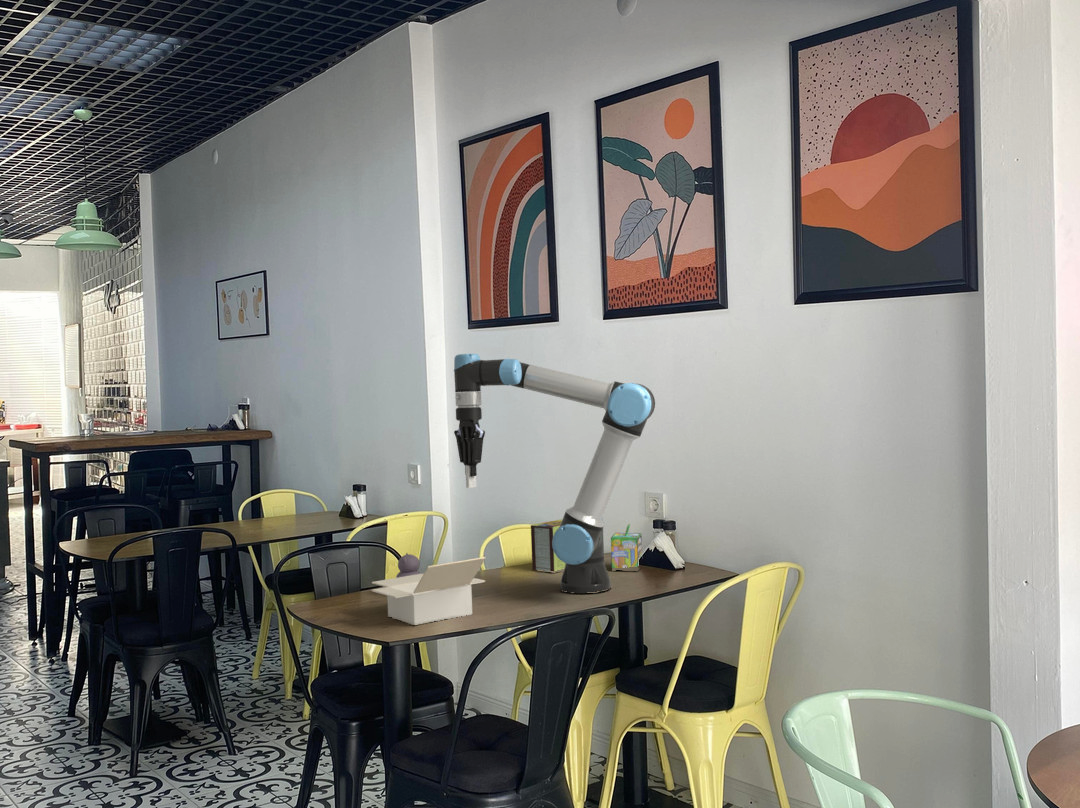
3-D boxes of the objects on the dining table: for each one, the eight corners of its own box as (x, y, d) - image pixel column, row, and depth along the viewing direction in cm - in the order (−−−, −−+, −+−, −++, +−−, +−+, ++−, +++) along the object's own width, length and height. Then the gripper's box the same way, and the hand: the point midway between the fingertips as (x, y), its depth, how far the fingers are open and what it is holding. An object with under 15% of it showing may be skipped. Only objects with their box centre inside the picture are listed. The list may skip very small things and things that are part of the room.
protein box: (585, 566, 326) (583, 521, 326) (554, 574, 315) (552, 526, 315) (562, 563, 333) (560, 518, 333) (531, 570, 322) (529, 524, 322)
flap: (428, 566, 244) (428, 567, 244) (485, 556, 255) (485, 558, 255) (413, 592, 250) (413, 593, 250) (469, 582, 261) (470, 583, 261)
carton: (355, 615, 265) (354, 584, 265) (442, 598, 282) (441, 570, 282) (397, 629, 247) (396, 597, 247) (487, 611, 264) (486, 580, 264)
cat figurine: (420, 596, 287) (419, 556, 286) (394, 597, 287) (392, 557, 287) (424, 590, 295) (423, 551, 295) (398, 591, 295) (397, 552, 295)
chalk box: (616, 566, 324) (614, 522, 324) (643, 567, 322) (641, 522, 322) (610, 571, 315) (609, 526, 315) (638, 572, 313) (637, 526, 313)
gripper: (445, 407, 285) (448, 487, 285) (470, 407, 275) (473, 489, 275) (466, 406, 289) (469, 484, 290) (491, 406, 279) (494, 487, 279)
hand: (471, 487), depth 282 cm, fingers closed
